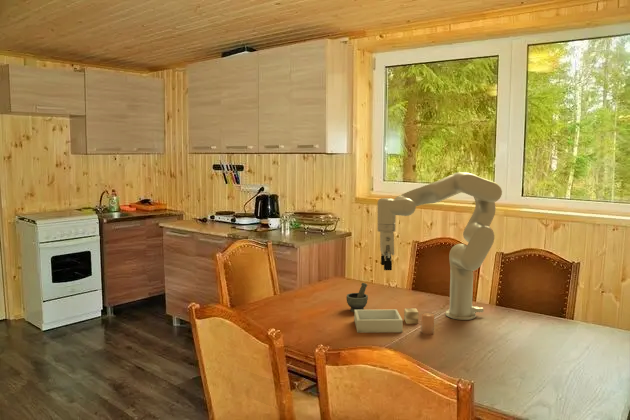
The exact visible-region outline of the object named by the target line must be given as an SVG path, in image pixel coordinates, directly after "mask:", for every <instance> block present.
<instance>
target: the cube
mask: <svg viewBox="0 0 630 420" xmlns="http://www.w3.org/2000/svg"><path fill="white" fill-rule="evenodd" d="M403 311H404V314H403V315H404V318H403V319H404V320H403V321H405V323H406V324H411V325H413V324H419V311H418V309H417V308H416V307H415V308H413V307H412V308H407V307H406V308H404V310H403Z"/></svg>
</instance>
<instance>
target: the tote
mask: <svg viewBox="0 0 630 420" xmlns="http://www.w3.org/2000/svg"><path fill="white" fill-rule="evenodd" d="M353 313H354V314H353V315H354V316H353V317H354V319H353V320H354V325H355V328H356V329H355V330H356V333H357V334H359V333H360V334H361V333H370V334H371V333H372V334H373V333H403V331H404V330H403V326H404V325H403V323H404V322H403V321H404V320H403V318H402V316H401V315H400V313H399V311H398V309H397V308H396V309H395V308H393V309H383V308H382V309H376V308H375V309H364V310H354V312H353Z"/></svg>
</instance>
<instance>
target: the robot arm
mask: <svg viewBox="0 0 630 420" xmlns="http://www.w3.org/2000/svg"><path fill="white" fill-rule="evenodd" d="M461 193H463V194H466V195H467V196H468V195H469V196H471V197H473V198H474V203H475V206H474V210H473V212H472V215H471V216H470V217H469V219H468V222H467V224H466V226H465V227H464V230H463V231H462V236H463V239H464V240H465V241H466V242H467V244H465V243H457V244H455V245H453V246H452V247H451V249H450V250H449V255H448V257H449V258H448V259H449V267H450V270H449V271H450V275H449V276H450V277H449V278H450V281H449V309H447V310H446V311H445V316H446V317H448V318H451V319H453V320H458V321H469V320H474V319H475V318H476V316H477V315H476V313H484V307H479V306H474V305H473V292H474V290H473V288H474V285H473V284H474V271H477V270H478V269H479V268H480V267H481V266H482V265H483V263H484V261H485V259H486V258H487V256H488V254H489V252H490V250H491V248H492V247H493V244H494V241H495V232H494V230H493V229H492V228H491V227H490V226H491V224H492V221H493V219H494V217H495V215H496V210H497V209H496V202H497V201H499V200H500V199H501V198H502V195H503V190H502V187H501V186H500V185H499V184H498V183H497V182H494V181H492V180H489V179H485V178H483V177H481V176H478V175H475V174H474V173H469V172H465V171H463V172H462V171H460V172H459V171H458V172H454V173H452V174H450V175H448V176H444V177H443V178H440V179H438V180H436V181H434V182H431V183H429V184H426V185H423V186H421V187H417V188H413V189H412V190H408V191H406V192H404V193H402V194H400V195H398V196H396V197H395V198H390V197H384V198H379V199H378V200H377V232H379V247H380V250H379V251H380V253H381V255H380V265H381V266H383V270H384V271H393V260H392V256H394V255H395V238H394V237H395V236H394V233H395V232H396V219H397V218H396V216H402V217H408V216H411V215H413V214H414V213H415V211H416V209H417V207H419V206H421V205H422V206H423V205H427V204H437V203H441V202H442V201H444V200H447V199H449V198H451V197H454V196H455V195H459V194H461Z"/></svg>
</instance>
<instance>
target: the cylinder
mask: <svg viewBox="0 0 630 420" xmlns="http://www.w3.org/2000/svg"><path fill="white" fill-rule="evenodd" d="M420 324H421V325H420V327H421V328H420V333H421V334H423V335H434V333H435V314H433V313H428V312H426V313H425V312H424V313H421V322H420Z"/></svg>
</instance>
